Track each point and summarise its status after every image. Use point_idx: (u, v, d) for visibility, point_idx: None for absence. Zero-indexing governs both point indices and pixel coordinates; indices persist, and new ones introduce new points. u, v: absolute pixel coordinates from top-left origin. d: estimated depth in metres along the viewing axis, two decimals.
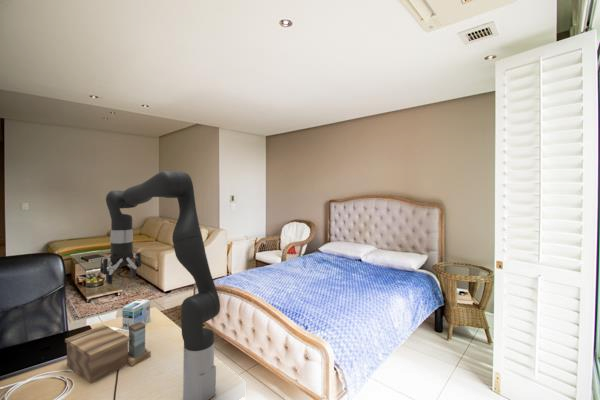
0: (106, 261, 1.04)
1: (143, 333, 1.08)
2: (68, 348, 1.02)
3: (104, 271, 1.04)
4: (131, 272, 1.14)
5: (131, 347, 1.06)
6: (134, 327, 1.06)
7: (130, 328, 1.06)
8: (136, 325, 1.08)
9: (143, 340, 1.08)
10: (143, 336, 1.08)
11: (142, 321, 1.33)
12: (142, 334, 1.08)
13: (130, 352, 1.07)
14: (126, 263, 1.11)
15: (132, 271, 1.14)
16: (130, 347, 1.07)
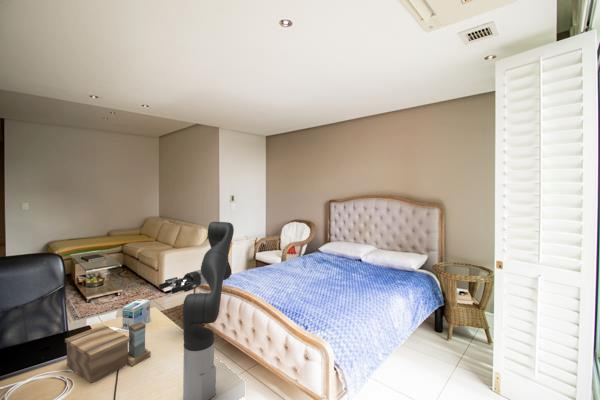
0: (175, 277, 1.29)
1: (143, 333, 1.08)
2: (68, 348, 1.02)
3: None
4: None
5: (131, 347, 1.06)
6: (134, 327, 1.06)
7: (130, 328, 1.06)
8: (136, 325, 1.08)
9: (143, 340, 1.08)
10: (143, 336, 1.08)
11: (142, 321, 1.33)
12: (142, 334, 1.08)
13: (130, 352, 1.07)
14: (181, 282, 1.23)
15: None
16: (130, 347, 1.07)
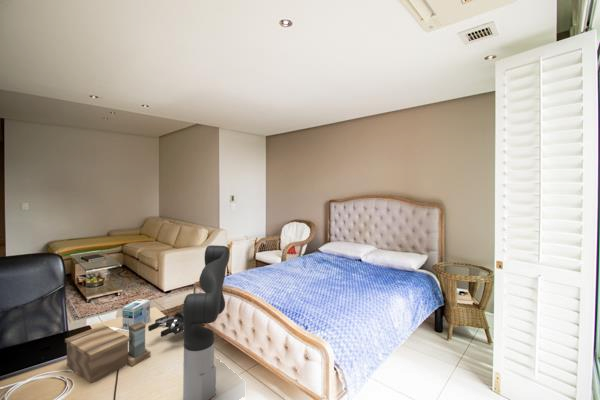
0: (166, 316, 1.25)
1: (143, 333, 1.08)
2: (68, 348, 1.02)
3: (157, 319, 1.23)
4: None
5: (131, 347, 1.06)
6: (134, 327, 1.06)
7: (130, 328, 1.06)
8: (136, 325, 1.08)
9: (143, 340, 1.08)
10: (143, 336, 1.08)
11: (142, 321, 1.33)
12: (142, 334, 1.08)
13: (130, 352, 1.07)
14: (172, 323, 1.20)
15: None
16: (130, 347, 1.07)
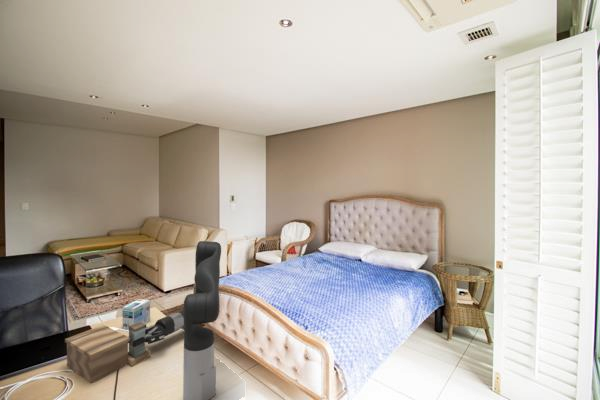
0: None
1: (143, 333, 1.08)
2: (68, 348, 1.02)
3: None
4: None
5: (131, 347, 1.06)
6: (134, 327, 1.06)
7: (130, 328, 1.06)
8: (136, 325, 1.08)
9: None
10: (143, 336, 1.08)
11: (142, 321, 1.33)
12: (142, 334, 1.08)
13: (130, 352, 1.07)
14: None
15: None
16: (130, 347, 1.07)
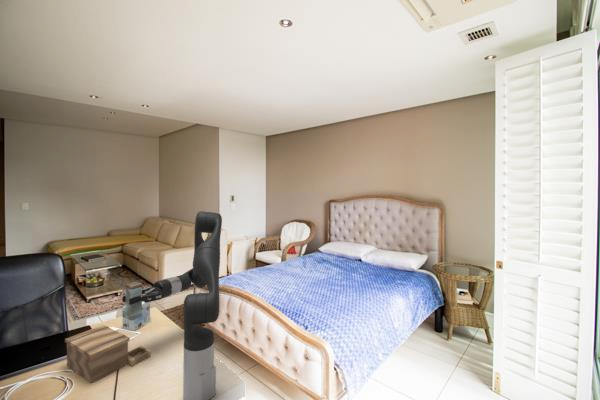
0: None
1: (140, 292, 1.07)
2: (68, 348, 1.02)
3: None
4: None
5: (128, 305, 1.05)
6: (131, 285, 1.05)
7: (127, 286, 1.06)
8: (133, 284, 1.07)
9: None
10: None
11: (142, 321, 1.33)
12: (139, 293, 1.07)
13: (127, 311, 1.06)
14: None
15: None
16: (127, 305, 1.06)
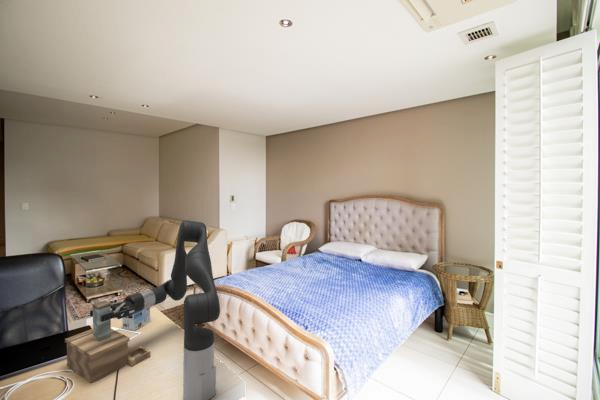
0: None
1: (108, 311, 1.03)
2: (68, 348, 1.02)
3: None
4: None
5: (95, 326, 1.01)
6: (98, 305, 1.01)
7: (94, 306, 1.01)
8: (100, 303, 1.03)
9: None
10: None
11: (142, 321, 1.33)
12: (107, 312, 1.03)
13: (94, 331, 1.02)
14: (118, 307, 1.07)
15: None
16: (94, 326, 1.02)
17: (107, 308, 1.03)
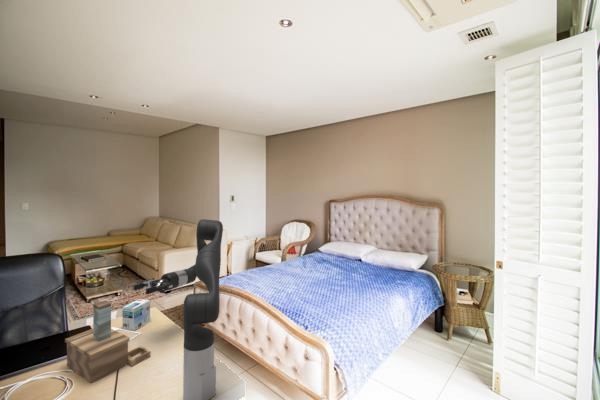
0: (152, 278, 1.25)
1: (109, 311, 1.03)
2: (68, 348, 1.02)
3: None
4: None
5: (96, 326, 1.01)
6: (98, 305, 1.01)
7: (94, 306, 1.02)
8: (101, 303, 1.03)
9: (109, 319, 1.03)
10: (109, 315, 1.03)
11: (142, 321, 1.33)
12: (107, 312, 1.03)
13: (94, 331, 1.02)
14: (157, 283, 1.20)
15: None
16: (94, 326, 1.02)
17: (108, 308, 1.03)
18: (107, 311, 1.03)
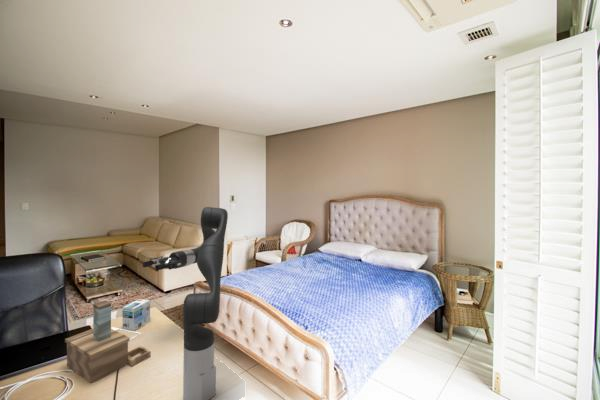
0: (160, 257, 1.26)
1: (109, 311, 1.03)
2: (68, 348, 1.02)
3: (152, 258, 1.23)
4: None
5: (96, 326, 1.01)
6: (98, 305, 1.01)
7: (94, 306, 1.02)
8: (101, 303, 1.03)
9: (109, 319, 1.03)
10: (109, 315, 1.03)
11: (142, 321, 1.33)
12: (107, 312, 1.03)
13: (94, 331, 1.02)
14: (166, 260, 1.21)
15: None
16: (94, 326, 1.02)
17: (108, 308, 1.03)
18: (107, 311, 1.03)
